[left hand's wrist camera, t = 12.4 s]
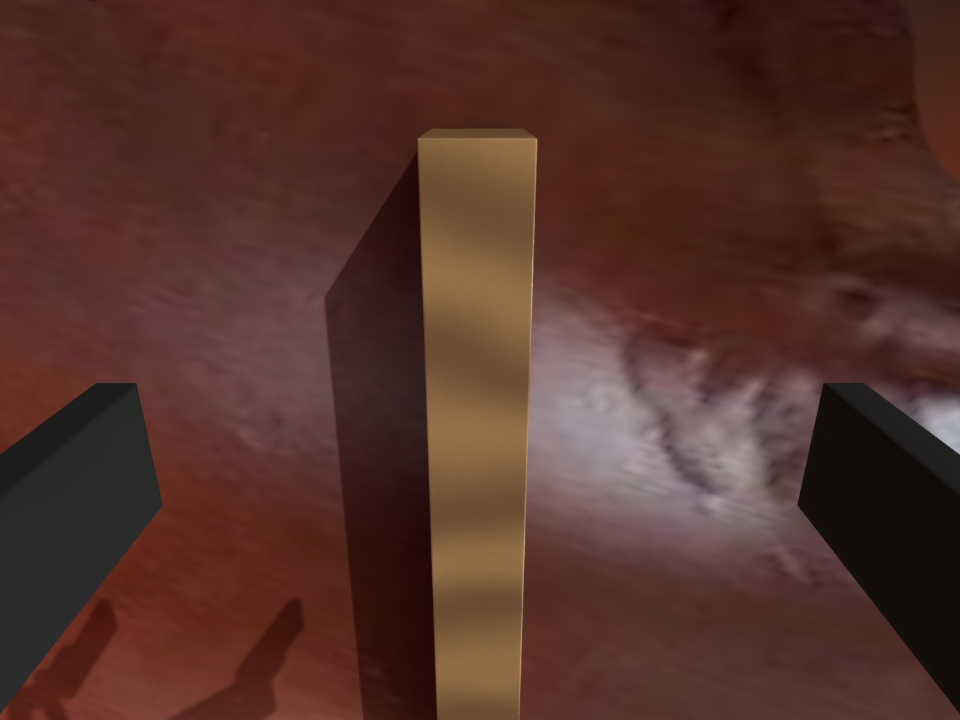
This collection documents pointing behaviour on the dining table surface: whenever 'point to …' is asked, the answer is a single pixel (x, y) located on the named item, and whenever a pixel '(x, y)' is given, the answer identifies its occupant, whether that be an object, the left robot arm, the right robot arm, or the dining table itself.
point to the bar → (477, 406)
